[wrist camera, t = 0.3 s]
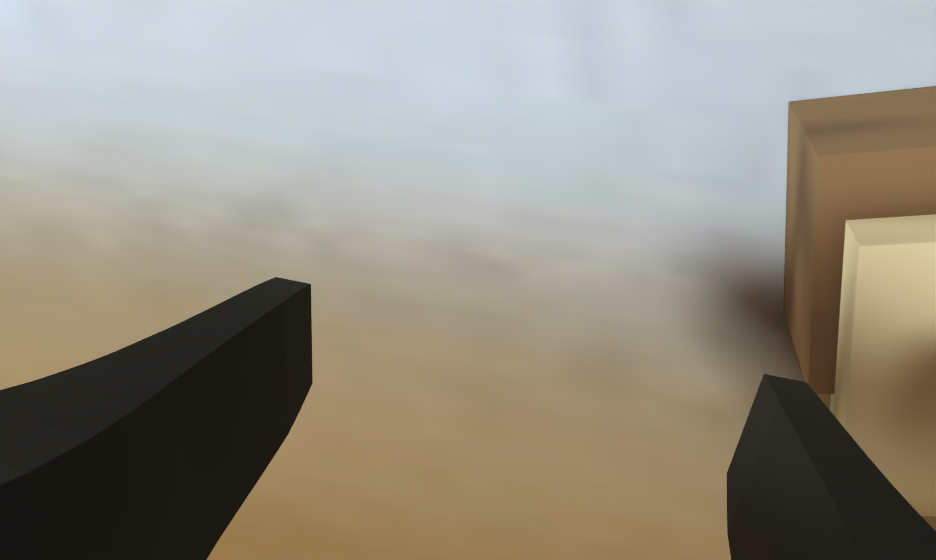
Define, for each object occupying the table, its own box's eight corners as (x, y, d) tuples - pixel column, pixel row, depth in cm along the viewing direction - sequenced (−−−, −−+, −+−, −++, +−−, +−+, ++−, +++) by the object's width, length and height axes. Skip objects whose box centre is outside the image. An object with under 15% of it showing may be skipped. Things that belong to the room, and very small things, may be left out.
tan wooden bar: (961, 510, 18) (993, 578, 16) (827, 506, 19) (844, 571, 17) (1015, 209, 14) (1063, 256, 13) (845, 220, 15) (870, 266, 14)
